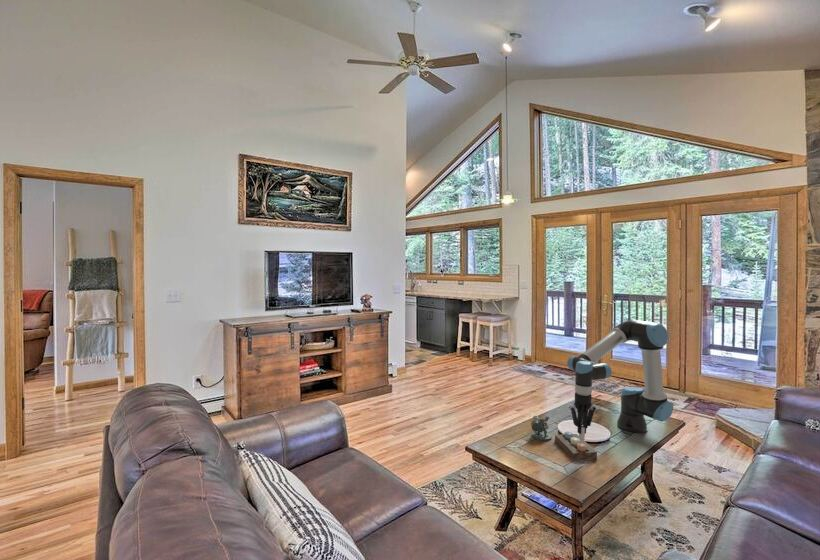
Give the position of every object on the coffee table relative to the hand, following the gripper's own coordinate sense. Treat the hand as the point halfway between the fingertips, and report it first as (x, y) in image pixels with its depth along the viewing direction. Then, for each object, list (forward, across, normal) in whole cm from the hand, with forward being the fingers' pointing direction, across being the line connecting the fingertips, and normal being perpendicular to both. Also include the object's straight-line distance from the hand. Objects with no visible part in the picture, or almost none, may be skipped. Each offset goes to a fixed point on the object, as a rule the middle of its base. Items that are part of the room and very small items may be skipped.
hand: (581, 439), depth 199 cm
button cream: (+6, 0, -7) cm, 9 cm away
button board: (+9, 0, -7) cm, 11 cm away
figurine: (+9, +11, -23) cm, 27 cm away
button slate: (+6, 0, -13) cm, 14 cm away
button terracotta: (+6, 0, 0) cm, 6 cm away
